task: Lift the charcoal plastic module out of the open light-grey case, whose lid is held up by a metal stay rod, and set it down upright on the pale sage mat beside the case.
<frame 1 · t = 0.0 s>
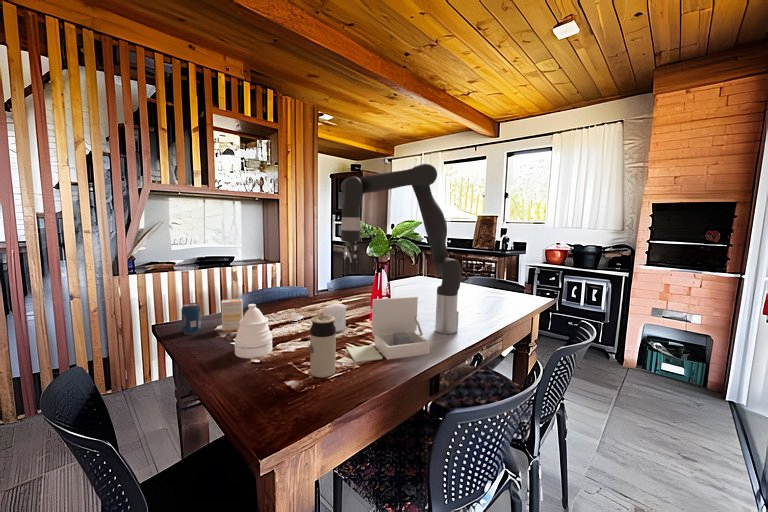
hand: (350, 270, 131), 29 cm above the table, tool pointing down, fingers open, 8 cm apart
supplement box: (232, 329, 145), on the table
module: (401, 342, 127), in the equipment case
teacup and saucer: (301, 322, 159), on the table
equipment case: (401, 349, 127), on the table
mat: (364, 354, 122), on the table
honey pot: (254, 351, 122), on the table
soda can: (191, 332, 140), on the table
travel mug: (322, 373, 106), on the table
photo printer: (334, 331, 146), on the table
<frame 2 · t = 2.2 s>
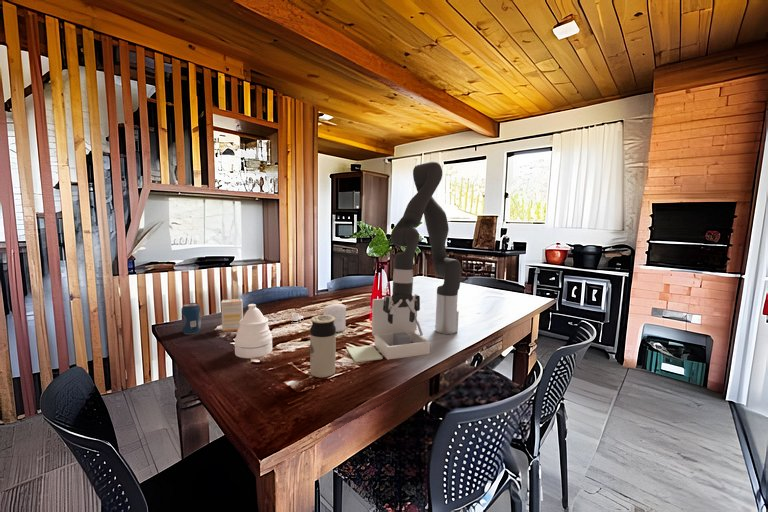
hand: (401, 322, 126), 11 cm above the table, tool pointing down, fingers open, 8 cm apart
nothing on the table moved.
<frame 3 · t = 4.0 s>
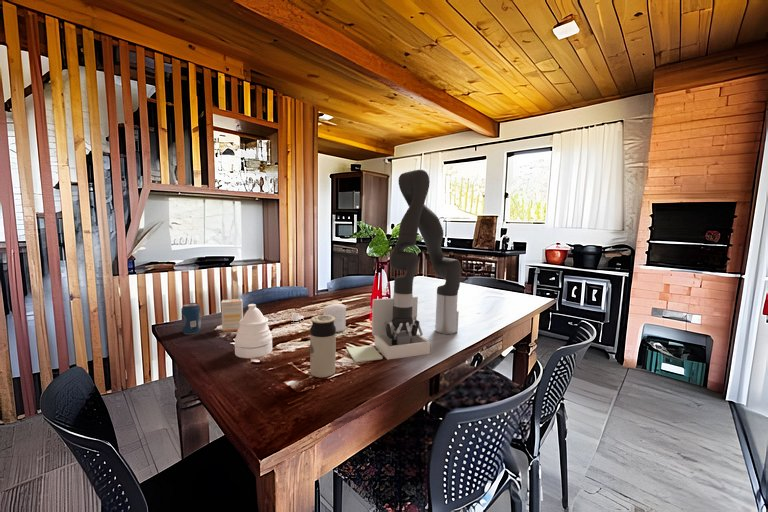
hand: (401, 347, 127), 1 cm above the table, tool pointing down, fingers closed on module, 5 cm apart
module: (401, 342, 127), in the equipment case, touching gripper
everything else where it was.
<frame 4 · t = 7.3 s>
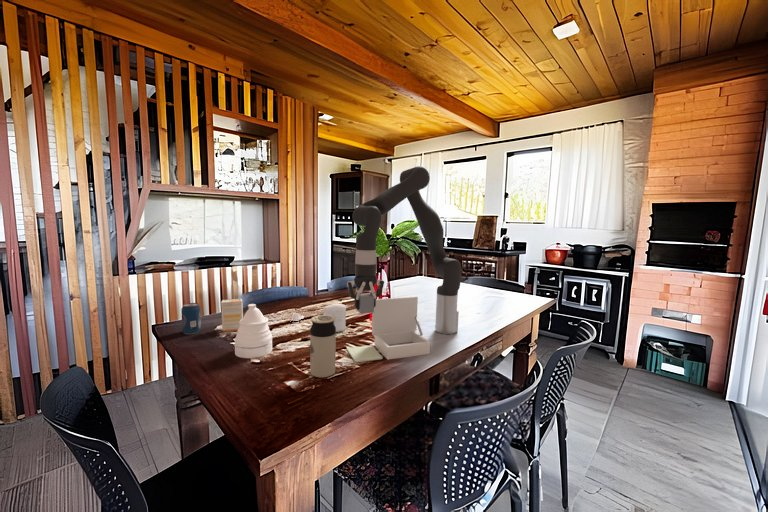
hand: (365, 308, 120), 17 cm above the table, tool pointing down, fingers closed on module, 5 cm apart
module: (365, 303, 120), point 19 cm above the table, touching gripper
everything else where it was.
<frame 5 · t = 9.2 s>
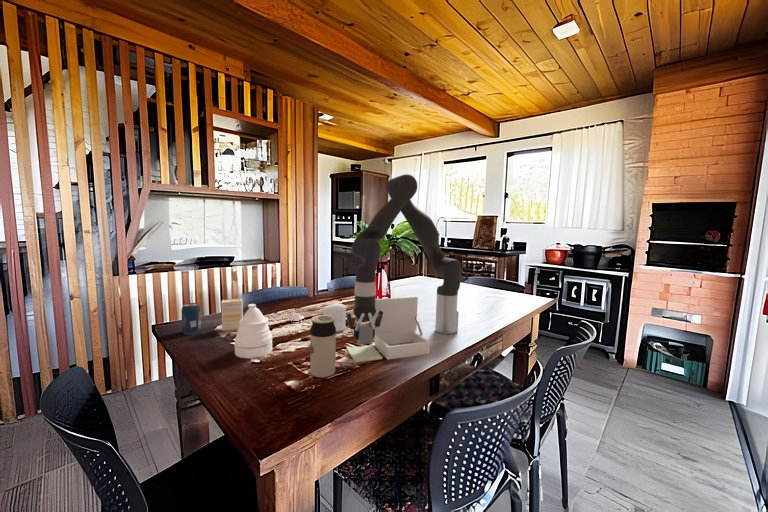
hand: (364, 338, 121), 6 cm above the table, tool pointing down, fingers closed on module, 5 cm apart
module: (364, 333, 121), point 8 cm above the table, touching gripper
everything else where it was.
when the fingers open (3 cm above the table, at t = 10.8 s): module drops 1 cm, resting on mat.
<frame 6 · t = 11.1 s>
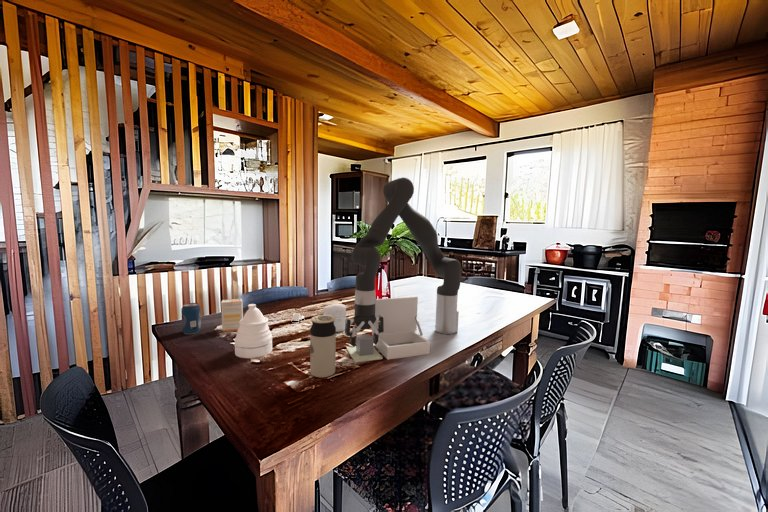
hand: (364, 344, 121), 4 cm above the table, tool pointing down, fingers open, 8 cm apart
module: (364, 344, 121), on the mat, point 4 cm above the table
everything else where it was.
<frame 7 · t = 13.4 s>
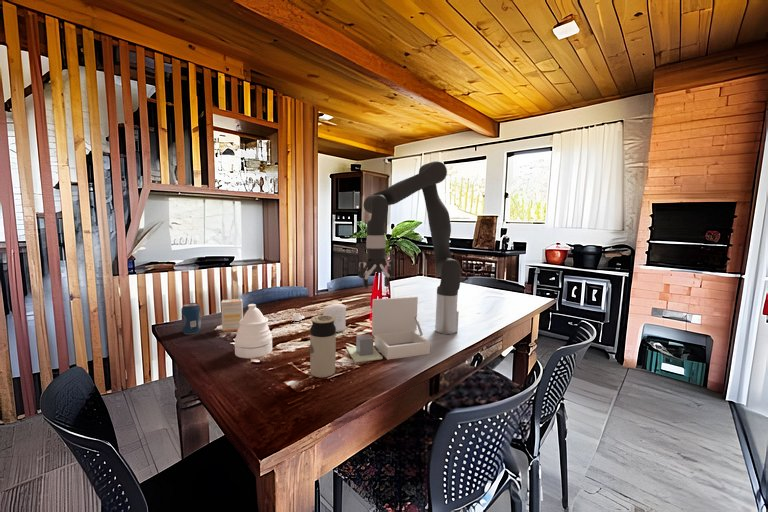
hand: (376, 287, 131), 23 cm above the table, tool pointing down, fingers open, 8 cm apart
nothing on the table moved.
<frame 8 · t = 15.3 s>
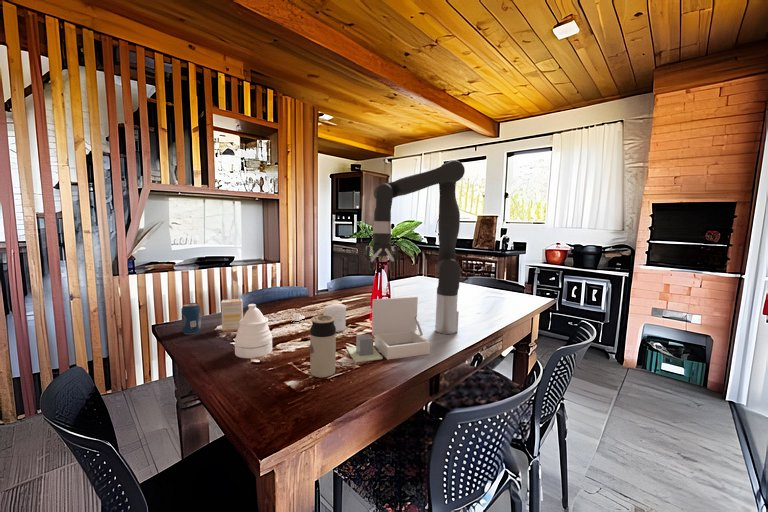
hand: (381, 270, 141), 28 cm above the table, tool pointing down, fingers open, 8 cm apart
nothing on the table moved.
at the end: module inside the target area on the mat (0.2 cm from its centre), point 3.6 cm above the mat's base; module tilted 0°; the gripper is holding nothing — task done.
